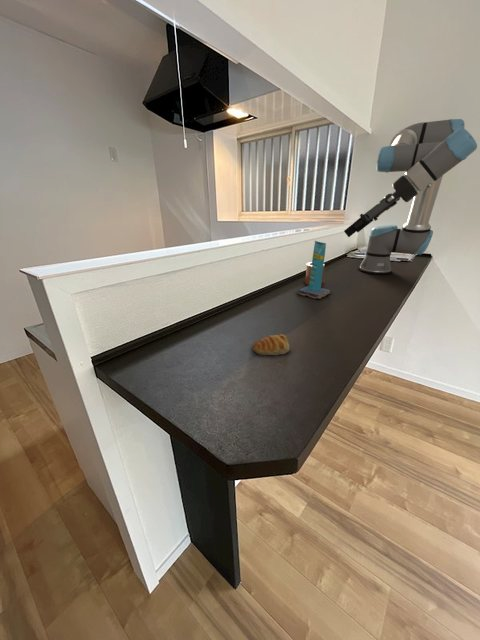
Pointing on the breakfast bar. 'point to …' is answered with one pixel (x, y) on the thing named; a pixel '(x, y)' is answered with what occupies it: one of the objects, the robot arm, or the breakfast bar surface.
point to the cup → (308, 272)
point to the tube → (317, 266)
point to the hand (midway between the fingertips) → (351, 231)
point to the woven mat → (313, 292)
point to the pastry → (272, 345)
